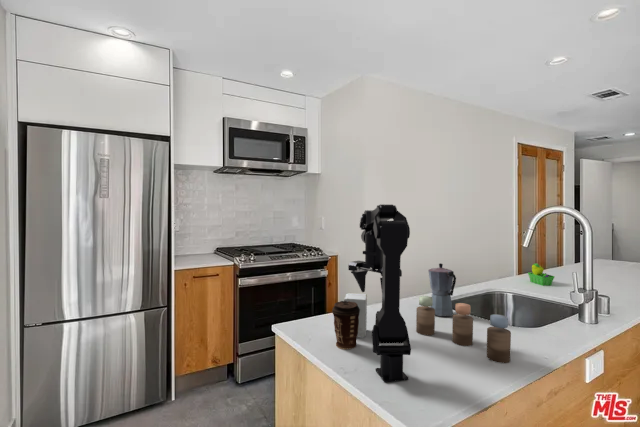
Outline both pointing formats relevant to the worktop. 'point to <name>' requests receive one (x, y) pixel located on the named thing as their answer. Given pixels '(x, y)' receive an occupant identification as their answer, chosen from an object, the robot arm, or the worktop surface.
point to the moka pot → (442, 290)
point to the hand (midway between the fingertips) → (373, 294)
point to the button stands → (467, 333)
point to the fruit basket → (540, 276)
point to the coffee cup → (346, 324)
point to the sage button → (425, 301)
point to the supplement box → (362, 304)
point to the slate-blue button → (499, 321)
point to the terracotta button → (463, 308)
